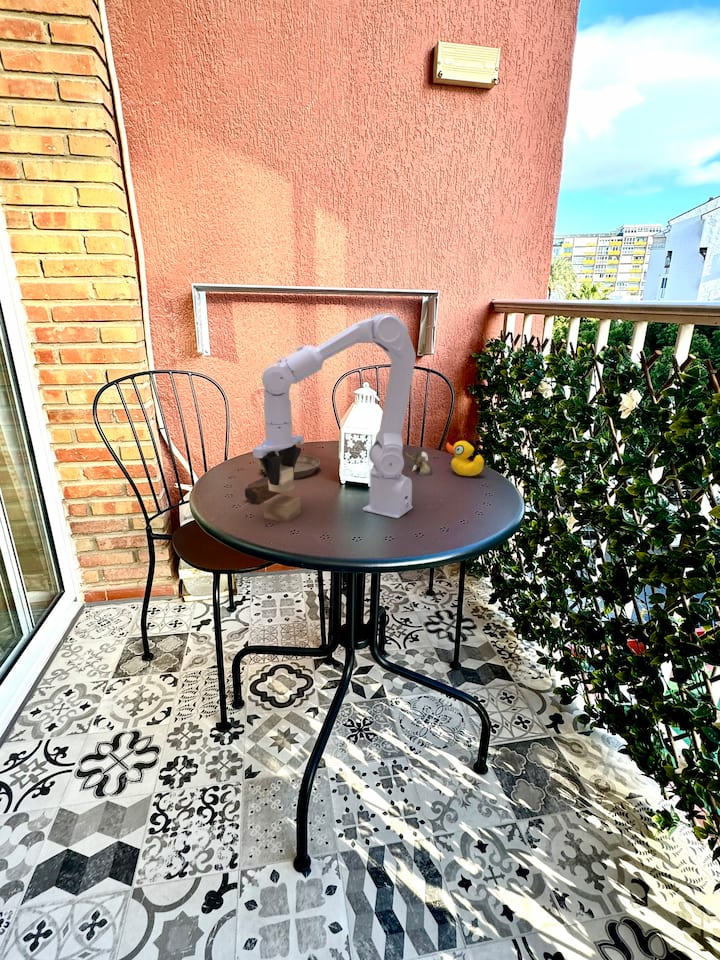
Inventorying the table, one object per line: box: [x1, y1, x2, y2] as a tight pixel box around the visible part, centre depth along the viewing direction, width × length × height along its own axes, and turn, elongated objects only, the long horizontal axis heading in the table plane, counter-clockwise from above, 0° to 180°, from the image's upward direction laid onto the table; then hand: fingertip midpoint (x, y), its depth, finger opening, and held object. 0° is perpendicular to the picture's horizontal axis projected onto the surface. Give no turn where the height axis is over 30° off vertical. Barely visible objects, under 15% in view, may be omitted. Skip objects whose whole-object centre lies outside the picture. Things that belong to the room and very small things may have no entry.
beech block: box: [268, 465, 295, 495], centre depth 110 cm, size 4×4×5 cm
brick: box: [244, 475, 282, 505], centre depth 123 cm, size 11×4×5 cm, turn 149°
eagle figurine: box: [405, 451, 433, 477], centre depth 144 cm, size 8×7×9 cm
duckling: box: [445, 440, 485, 477], centre depth 140 cm, size 11×5×10 cm, turn 58°
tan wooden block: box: [263, 494, 302, 523], centre depth 112 cm, size 6×6×4 cm
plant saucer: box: [258, 454, 321, 479], centre depth 144 cm, size 18×18×3 cm
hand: (281, 481), depth 110 cm, fingers closed on beech block, 4 cm apart
